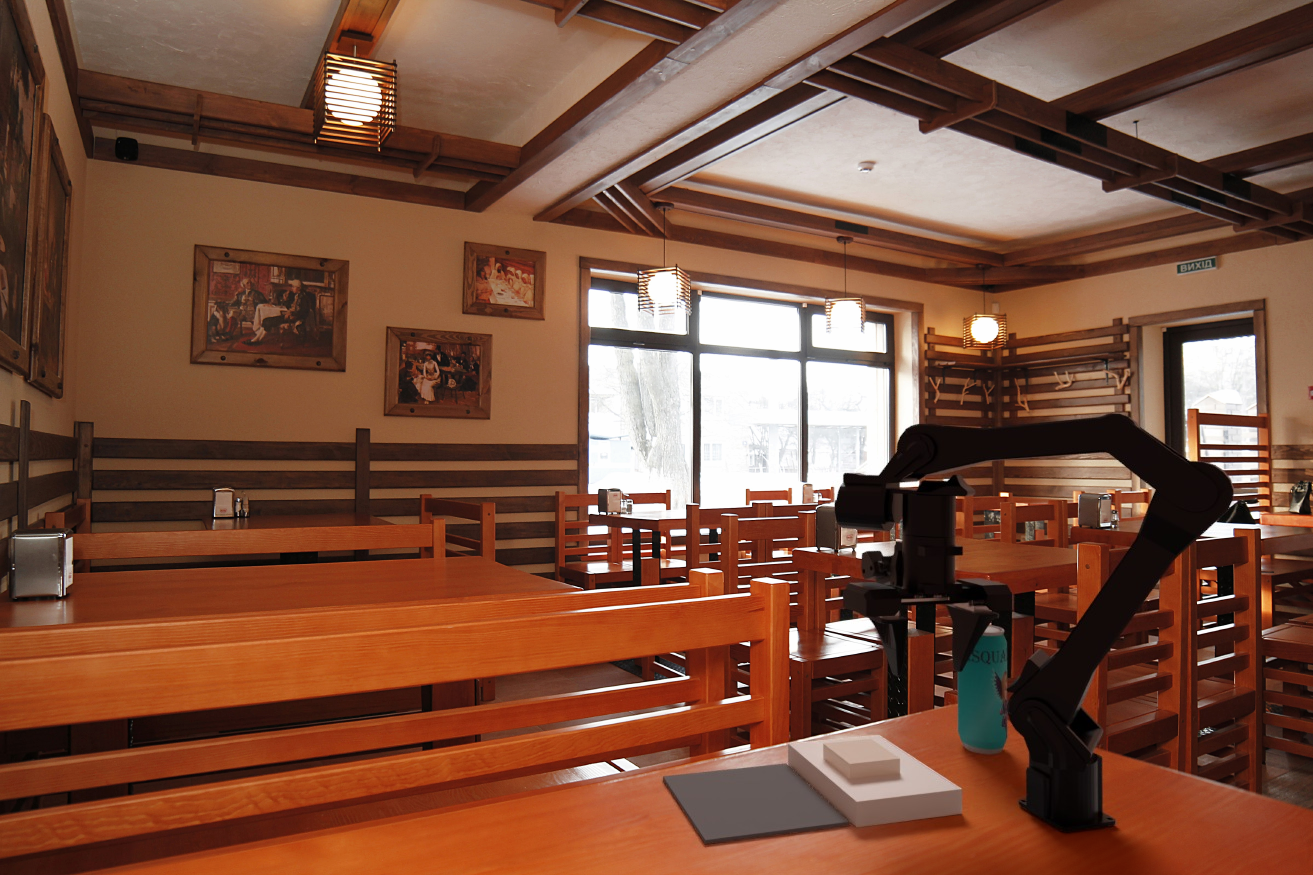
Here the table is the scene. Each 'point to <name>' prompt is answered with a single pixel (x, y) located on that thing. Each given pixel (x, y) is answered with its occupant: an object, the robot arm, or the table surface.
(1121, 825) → the table surface
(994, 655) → the beverage can
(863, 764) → the cream rectangular block
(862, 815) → the light grey rectangular box
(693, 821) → the charcoal mat
